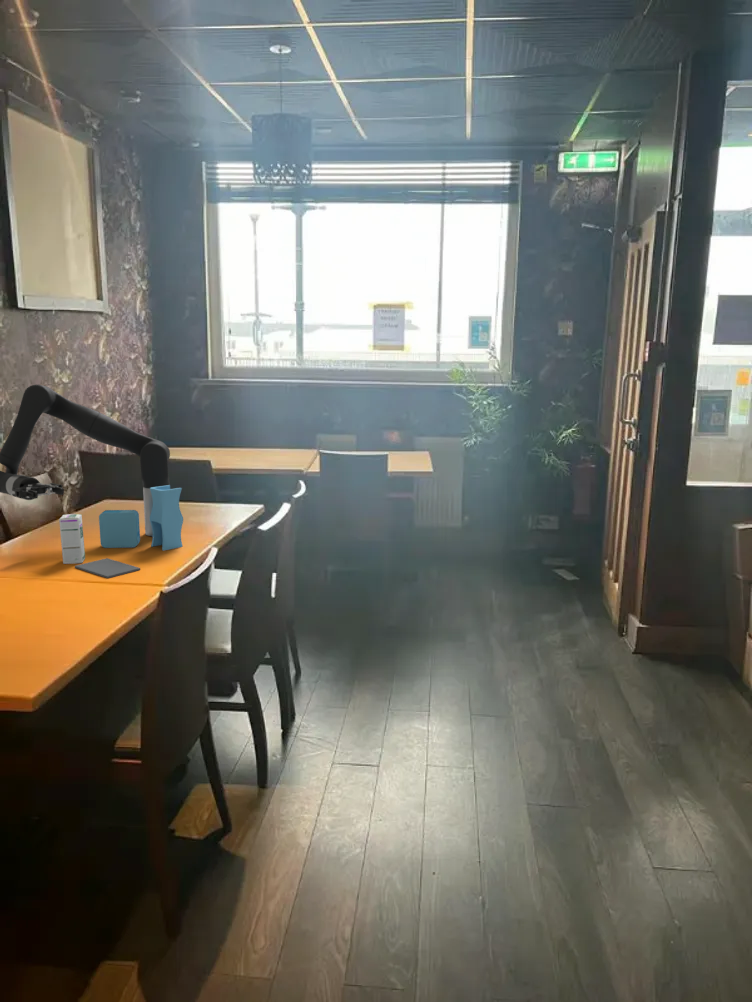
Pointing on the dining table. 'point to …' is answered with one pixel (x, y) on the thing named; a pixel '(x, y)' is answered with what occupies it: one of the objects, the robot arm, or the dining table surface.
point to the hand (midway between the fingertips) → (49, 493)
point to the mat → (107, 568)
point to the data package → (119, 528)
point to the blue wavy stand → (166, 517)
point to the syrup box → (72, 538)
